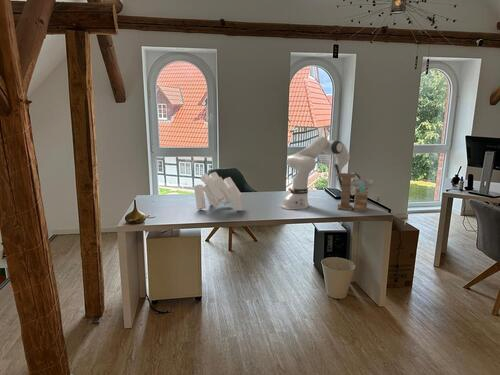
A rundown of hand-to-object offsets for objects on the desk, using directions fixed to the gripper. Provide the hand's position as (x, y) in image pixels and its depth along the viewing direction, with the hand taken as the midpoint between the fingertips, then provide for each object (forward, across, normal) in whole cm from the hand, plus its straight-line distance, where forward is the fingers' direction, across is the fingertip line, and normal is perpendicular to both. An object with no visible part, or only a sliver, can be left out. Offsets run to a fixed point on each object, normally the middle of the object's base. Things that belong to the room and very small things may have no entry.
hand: (360, 179), depth 274 cm
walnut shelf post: (+7, -11, +26) cm, 29 cm away
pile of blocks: (+26, -103, +37) cm, 113 cm away
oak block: (+7, 0, +26) cm, 27 cm away
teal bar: (+14, 0, +13) cm, 19 cm away
